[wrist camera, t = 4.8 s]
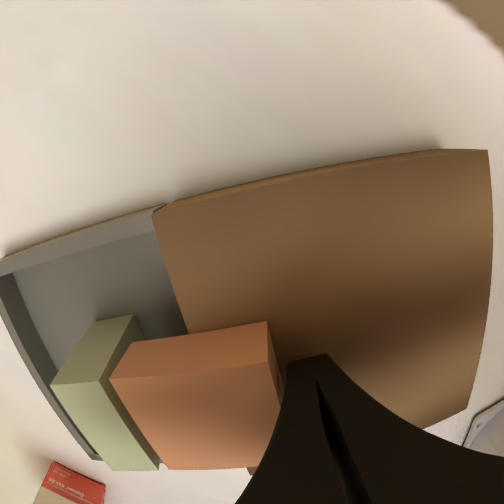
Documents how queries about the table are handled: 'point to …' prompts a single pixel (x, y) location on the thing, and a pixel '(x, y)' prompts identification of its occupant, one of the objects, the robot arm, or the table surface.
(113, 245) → the tray
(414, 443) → the robot arm
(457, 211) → the plate
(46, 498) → the ink cartridge box
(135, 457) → the tile
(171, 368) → the tile
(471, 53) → the table surface
